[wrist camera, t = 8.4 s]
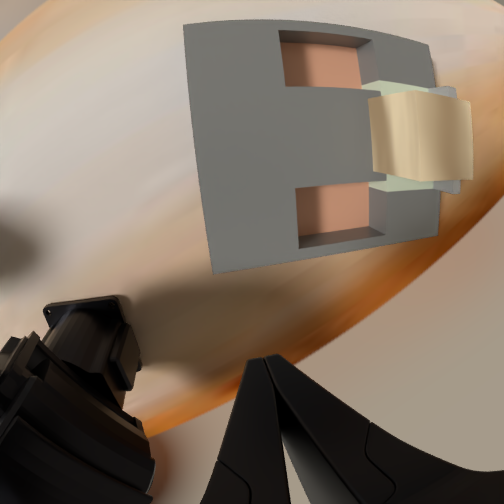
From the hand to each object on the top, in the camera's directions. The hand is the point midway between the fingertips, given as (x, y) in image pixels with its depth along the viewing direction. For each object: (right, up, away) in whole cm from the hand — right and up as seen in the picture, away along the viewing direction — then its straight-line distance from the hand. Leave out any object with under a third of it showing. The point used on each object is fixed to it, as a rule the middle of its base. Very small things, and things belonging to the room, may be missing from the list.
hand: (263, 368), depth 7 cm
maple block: (+9, +10, +8) cm, 16 cm away
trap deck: (+4, +10, +10) cm, 15 cm away
